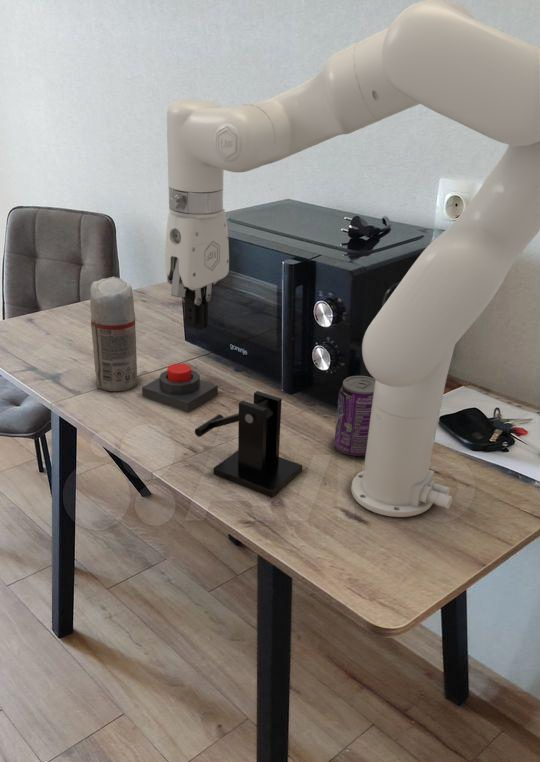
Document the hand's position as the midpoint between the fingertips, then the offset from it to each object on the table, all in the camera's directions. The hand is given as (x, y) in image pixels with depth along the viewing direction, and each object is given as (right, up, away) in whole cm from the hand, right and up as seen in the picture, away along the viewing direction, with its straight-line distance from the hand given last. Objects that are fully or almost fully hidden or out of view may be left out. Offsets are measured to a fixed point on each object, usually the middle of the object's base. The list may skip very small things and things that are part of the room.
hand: (196, 326), depth 108 cm
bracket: (+9, -22, +3) cm, 25 cm away
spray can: (-18, -5, +29) cm, 35 cm away
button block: (-6, -8, +25) cm, 27 cm away
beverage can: (+26, -18, +11) cm, 33 cm away
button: (-6, -5, +23) cm, 24 cm away
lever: (+6, -15, +1) cm, 16 cm away
